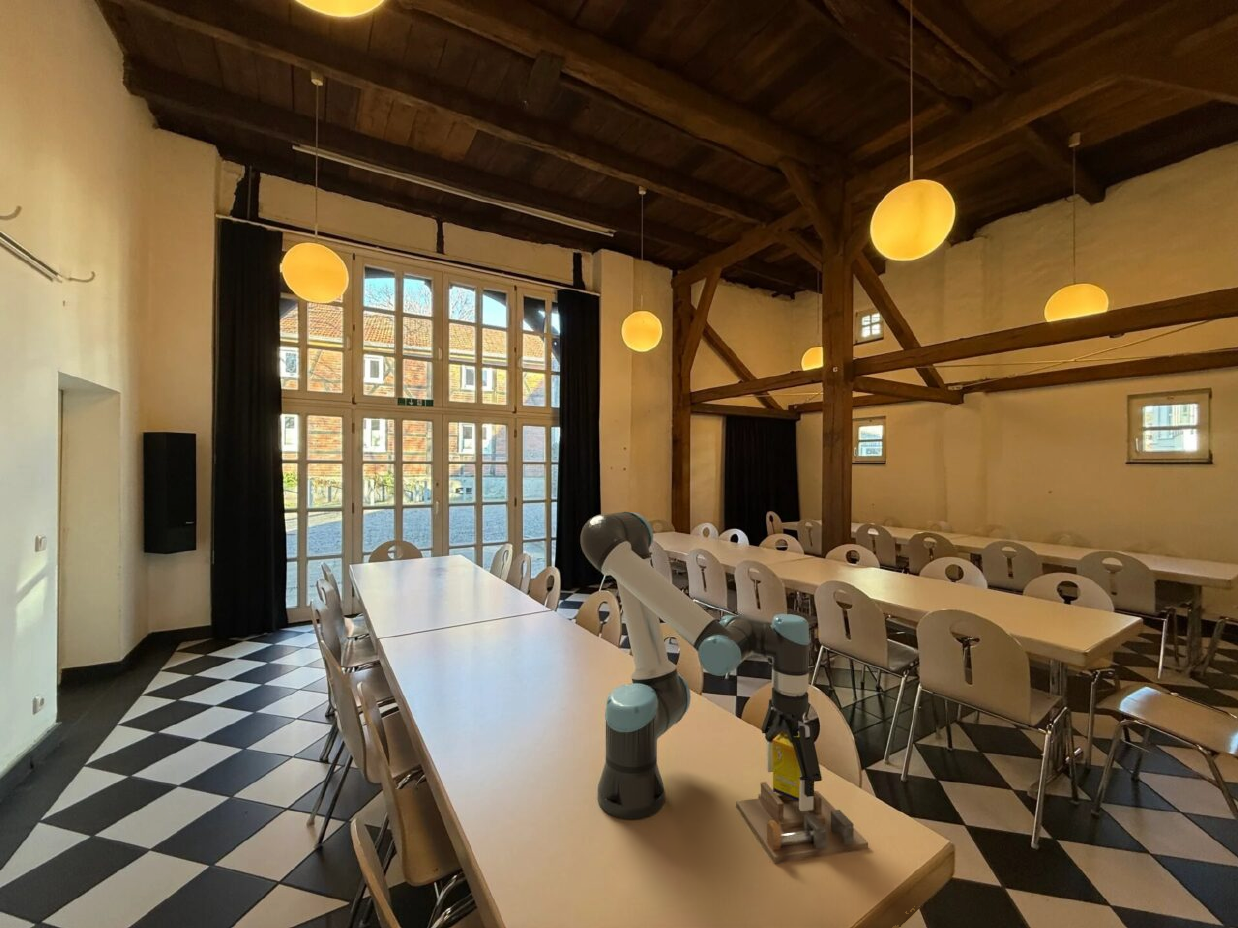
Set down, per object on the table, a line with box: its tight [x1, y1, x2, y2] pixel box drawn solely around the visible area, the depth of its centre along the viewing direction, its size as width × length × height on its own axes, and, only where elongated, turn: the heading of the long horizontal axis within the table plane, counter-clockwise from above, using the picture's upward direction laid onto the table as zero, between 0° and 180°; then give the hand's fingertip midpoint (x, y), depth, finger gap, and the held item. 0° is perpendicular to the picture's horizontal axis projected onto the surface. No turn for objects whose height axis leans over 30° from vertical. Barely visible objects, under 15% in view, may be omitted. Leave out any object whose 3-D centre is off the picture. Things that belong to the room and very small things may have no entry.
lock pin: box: [767, 820, 827, 851], centre depth 100 cm, size 12×2×4 cm, turn 102°
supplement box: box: [772, 731, 802, 801], centre depth 110 cm, size 6×6×11 cm
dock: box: [735, 781, 869, 865], centre depth 107 cm, size 20×17×6 cm
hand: (788, 789), depth 110 cm, fingers open, 13 cm apart
